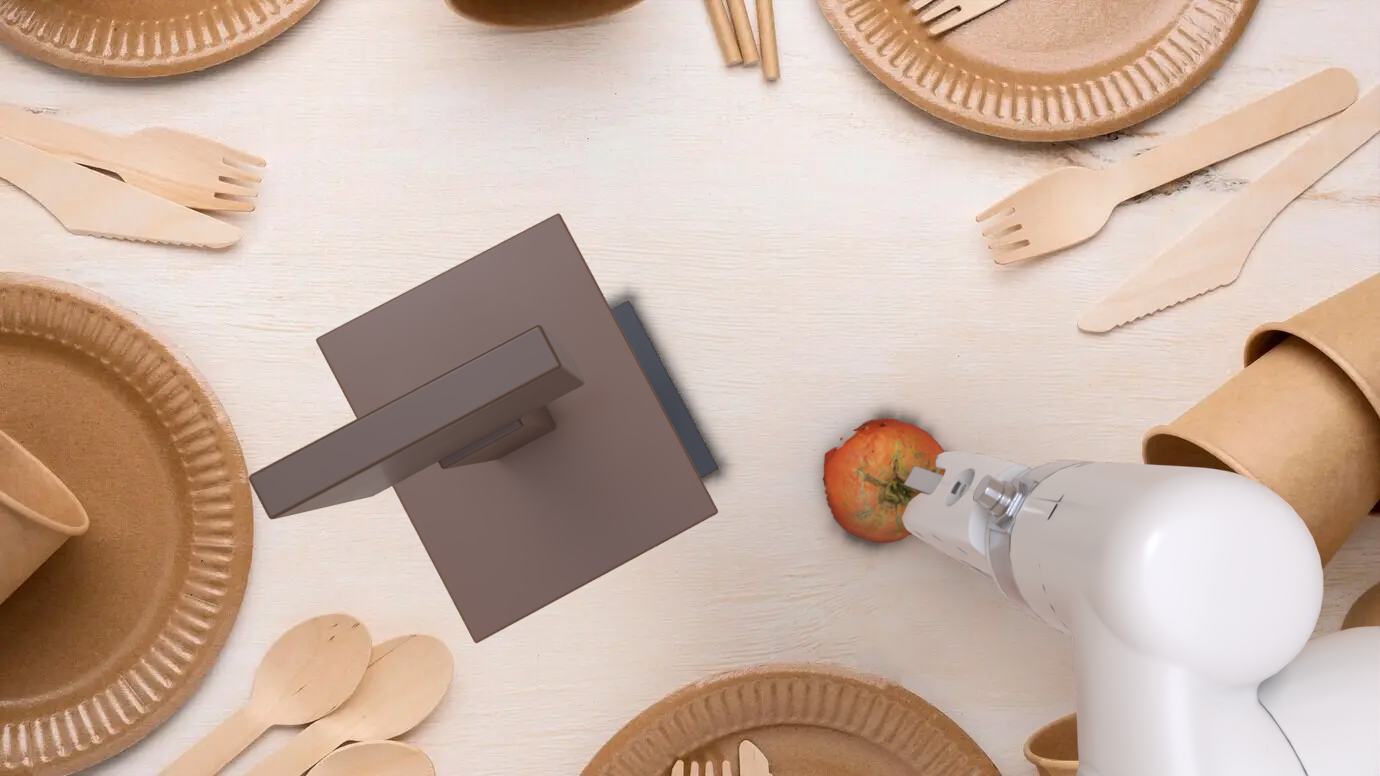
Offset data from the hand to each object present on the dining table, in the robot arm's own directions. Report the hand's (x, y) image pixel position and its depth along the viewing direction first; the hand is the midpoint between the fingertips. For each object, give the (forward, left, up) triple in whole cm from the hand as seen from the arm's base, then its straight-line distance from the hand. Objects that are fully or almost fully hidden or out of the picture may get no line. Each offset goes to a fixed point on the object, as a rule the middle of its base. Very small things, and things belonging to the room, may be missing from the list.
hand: (958, 514), depth 65 cm
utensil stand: (+15, +18, -3) cm, 23 cm away
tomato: (+4, +3, -3) cm, 5 cm away
